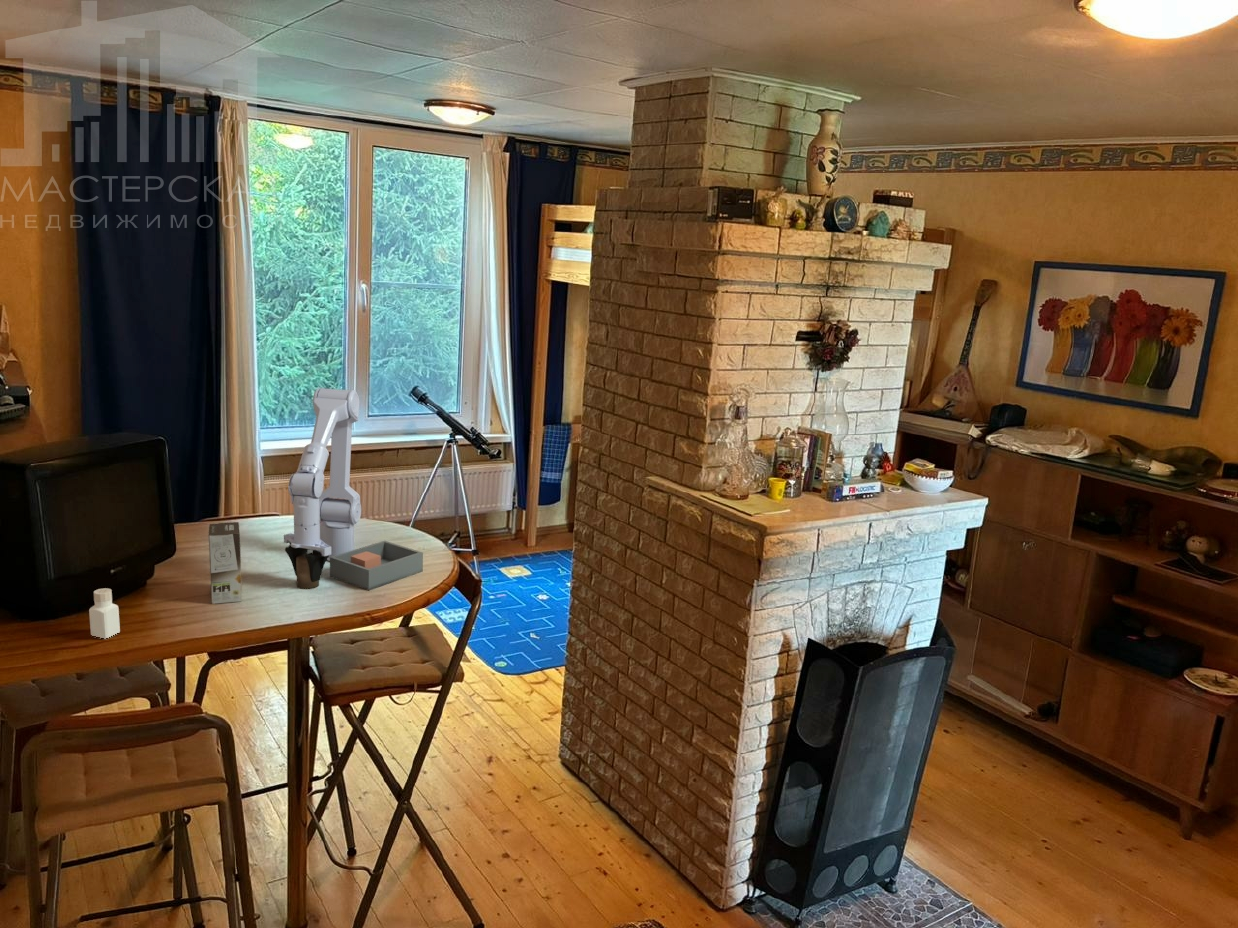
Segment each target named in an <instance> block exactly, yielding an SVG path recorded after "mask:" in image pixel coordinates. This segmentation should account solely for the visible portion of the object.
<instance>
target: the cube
mask: <svg viewBox="0 0 1238 928" xmlns="http://www.w3.org/2000/svg"><path fill="white" fill-rule="evenodd" d="M351 563H353V564H356V565H359V566H362V567H365V568H368V569H370V568H373V567H376V566H379V565H381V556H380V555H377V554H373V553H370V552H367V551H366V552H363V553H359V554H356V555H353V556H351Z"/></svg>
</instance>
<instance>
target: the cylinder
mask: <svg viewBox="0 0 1238 928" xmlns="http://www.w3.org/2000/svg"><path fill="white" fill-rule="evenodd" d="M296 572H297V576H296V587H297V589H300V590H313V589H317V588H318V587H319V586H320V580H318V581H315V582H312V581H311V579H310V570H309V565H308V562H307V559H306V557H305V554H303V555H299V556H297V557H296Z"/></svg>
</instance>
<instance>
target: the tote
mask: <svg viewBox="0 0 1238 928" xmlns="http://www.w3.org/2000/svg"><path fill="white" fill-rule="evenodd" d="M366 551H367V552H370V553H373V554H377V555H380V556H381V565H379V566H376V567H373V568H370V569H368V568H365V567H362V566H359V565H356V564H353V563H351V556H353V555H356V554H359V553H363V552H366ZM423 568H424V552H423V551H419V550H416V549H412V548H409V547H406V546H404V545H403V546H402V545H400V544H397V543H394V542H390V541H387V540H383V541H379V542H376V543H372V544H369V545H366V546H363V547H359V548H356V549H355V548H354V550H352V551H349V552H345V553H342V554H339V555H336V556H332V557H330V561H329V576H330V578H333V579H335V580H338V581H341V582H344V583H346V584H347V583H348V584H350V585H352V586H355V587H357V588H361V589H364V590H366V591H372V590H374V589H377V588H381V587H383V586H386V585H389V584H391V583H394V582H396V581H399V580H402V579H406V578H408V577H410V576H411V577H412V576H414V575H416V574H420V573H423V571H424V570H423Z"/></svg>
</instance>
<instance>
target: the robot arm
mask: <svg viewBox="0 0 1238 928" xmlns="http://www.w3.org/2000/svg"><path fill="white" fill-rule="evenodd" d="M312 407H313V409H314V410H313V411H314V414H315V416H316V418H315V423H314V427H313V432H312V437H311V442H310V443H309V444H306V445H305V446H304V448H303V451H302V455H301V456H300V460H299V463H298V466H297V469H296V472H295V473H292V474H291V475H290V477H289V480H288V481H289V482H288V486H287V487H288V488H287V489H288V493H289V496H290V502H291V504H292V505H293V533H291V532H290V533H287V534H284V535H283V543H284V544H289V546H286V547H285V548H284V552H286V554H287V557H289V560H290V562H291V565H292V569H293V571H294V575H295V577H297V572H296V557H297V556H299V555H303V554H305V557H306V559H307V562H308V565H309V570H310V579H311V581H312V582H315V581H318V580H319V581H320V580H321V576H322V575H323V574H322V573H323V569H324V566H325V565H326V562H327V561H328V562H330V557H332V556H336V555H339V554H342V553H345V552H349V551H352V550H355V525H357V524H358V523H359V521H360V519H361V517H362V505H361V496H360V494H359V493H358V492H357V491H356V490H355V489H353V487H351V486H350V479H351V476H350V474H351V458H352V457H351V455H352V454H351V453H352V437H353V432H352V431H353V423H356V422H358V421H359V416H360V397H359V395H358V393H357V391H356V389H351V390H350V389H348V390H347V389H337V388H336V389H335V388H323V387H317V388H316V390H315V391H314V393H313V397H312ZM330 439H331V440H330ZM329 441H331V442H330V451H329V450H328V449H327V446H328V443H329ZM329 452H330V453H329ZM329 455H330V463H329V470H330V471H329V485H328V487H327V488H325V489H324V486H325V474H324V472H325V470H326V465H327V462H328V459H329ZM320 521H321V523H320ZM308 551H312V552H309V553H308Z"/></svg>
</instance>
